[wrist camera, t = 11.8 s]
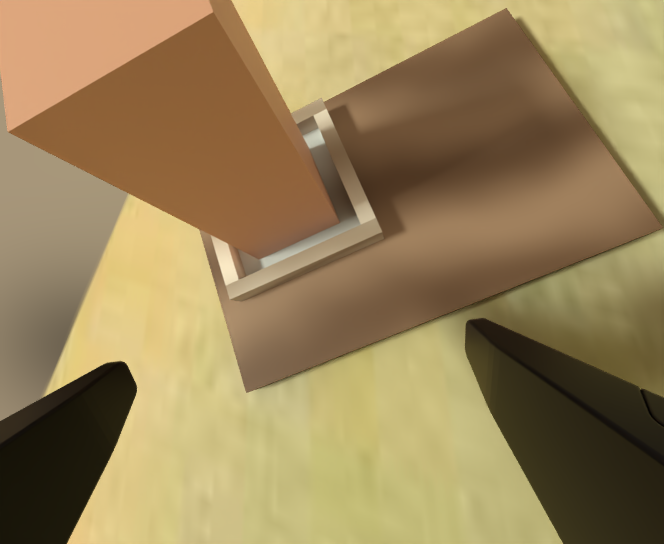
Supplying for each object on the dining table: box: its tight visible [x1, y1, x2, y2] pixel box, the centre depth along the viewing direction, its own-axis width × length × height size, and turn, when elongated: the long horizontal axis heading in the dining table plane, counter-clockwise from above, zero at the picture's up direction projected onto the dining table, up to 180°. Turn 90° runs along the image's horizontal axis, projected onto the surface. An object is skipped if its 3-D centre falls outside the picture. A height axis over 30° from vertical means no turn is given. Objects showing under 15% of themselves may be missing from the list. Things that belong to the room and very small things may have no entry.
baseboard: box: [199, 8, 663, 393], centre depth 17 cm, size 14×21×2 cm, turn 111°
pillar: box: [0, 0, 340, 259], centre depth 13 cm, size 5×5×12 cm
